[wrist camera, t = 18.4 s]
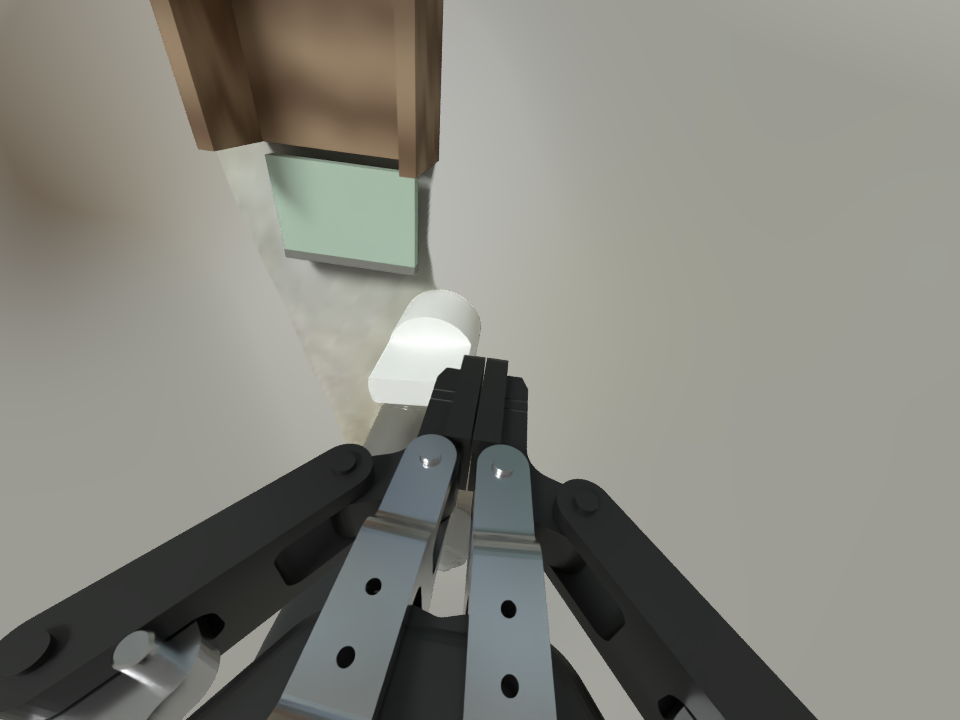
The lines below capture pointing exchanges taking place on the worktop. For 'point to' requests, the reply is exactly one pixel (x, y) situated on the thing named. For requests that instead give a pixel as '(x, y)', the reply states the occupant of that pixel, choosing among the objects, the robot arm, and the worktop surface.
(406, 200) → the panel
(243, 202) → the worktop surface
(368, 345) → the worktop surface
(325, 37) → the box
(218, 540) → the robot arm
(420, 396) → the cylinder with rectangular tab
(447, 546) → the lumpy-topped squat cylinder
